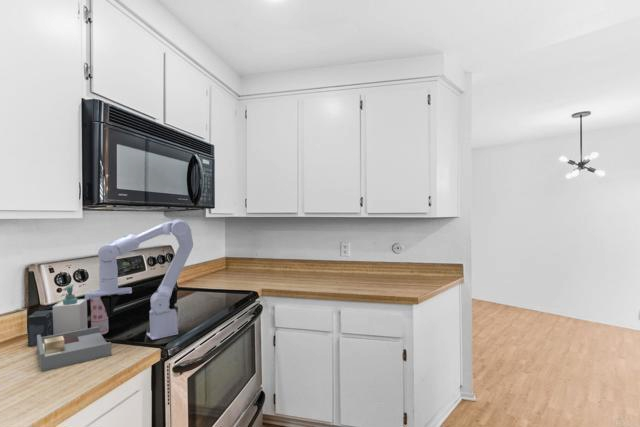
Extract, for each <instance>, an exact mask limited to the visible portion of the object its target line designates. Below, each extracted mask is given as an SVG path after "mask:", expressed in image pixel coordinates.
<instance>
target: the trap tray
mask: <svg viewBox="0 0 640 427" xmlns="http://www.w3.org/2000/svg"><path fill="white" fill-rule="evenodd" d="M87 328H88V327H87ZM59 336H63V338H64V346H65V351H60V352H56V353H51V354H45V349H44V339H49V338H54V337H59ZM36 350H37V357H38V361H39V368H40V372H45V371H49V370H52V369H57V368H62V367H66V366H70V365H74V364H80V363H83V362H87V361H91V360H95V359H100V358H105V357H108V356H112V342H111V341H109V342H107V341H106V339H105V338H104V336H103V334H102V335H101V333H100V327H99V326H98V327H93V328H91V327H89V328H88V329H82V330H77V331H72V332H66V333H61V334H56V335H50V336H45V337H41V335H37V346H36Z"/></svg>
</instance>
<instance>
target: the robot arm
mask: <svg viewBox="0 0 640 427" xmlns="http://www.w3.org/2000/svg"><path fill="white" fill-rule="evenodd" d="M171 234H172V235H173V236H174V237H175V239H176V241H177V243H178V248H177V250H176V252H175V254H174V256H173V257H172V260H171V262H170V265H169V267H168V268H167V270H166V273H165V275H164V277H163V279H162V280H161V283H160V284H159V286H158V288H157V290H155V292H153V294H152V295H151V296H150V298H149V299H150V300H149V302H150V310H149V312H148V313H149V332H146V336H147V337H148V338H150V339H151V340H152V341H154V340H159V339H163V338H167V337H172V336H175V335H179V327H178V326H179V323H178V322H179V319H178V317H179V316H178V312H177V310H176V309H175V308H171V307H170V299H171V297H172V293H173V291H174V288H175V286H176V284H177V282H178V280H179V277H180V276H181V273H182V270H183V269H184V268H185V265H186V263H187V260H188V258H189V256H190V254H191V252H192V250H193V247H194V241H193V235H192V228H191V227H190V225H189V223H188V222H187V221H185V220H183V219H181V218H176V219H173V220H172V221H171V220H169V221H166V222H163V223H160V224H158V225H156V226H154V227H152V228H150V229H147V230H145V231H144V232H141V233H139V234H137V235H136V234H132V233H130V234H128V233H126V234H123V236H122V237H120V238H118V239H116V240H111V241H109V243H107V244H106V243H105V244H104V245H102V246H101V247H100V248H99V250H98V251H97V256H98V259H99V261H98V264H99V265H98V279H99V290H96V291H90V292H85V293H84V299H85V300H87V301H88V300H91V299H92V298H99V297H100V299H101V301H102V303H103V305H104V307H105V310H106V313H107V317H108V318H111V317H113V314H114V309H115V307H116V304H117V302H118V300H119V295H120V296H121V295H125V294H132V293H133V289H132V287H131V286H130V287H127V286H126V287H119V281H118V280H119V279H118V277H119V276H118V274H119V273H118V271H119V270H118V264H117V263H118V262H117V257H118V256H120V257H121V256H123V255H126V254H128V253H131V252H133V251H135V250H137V249H139V248H140V245H141V243H144V242H147V241H150V240H152V239H154V238H156V237H158V236H161V235H166V236H167V235H168V236H170V235H171Z"/></svg>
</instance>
